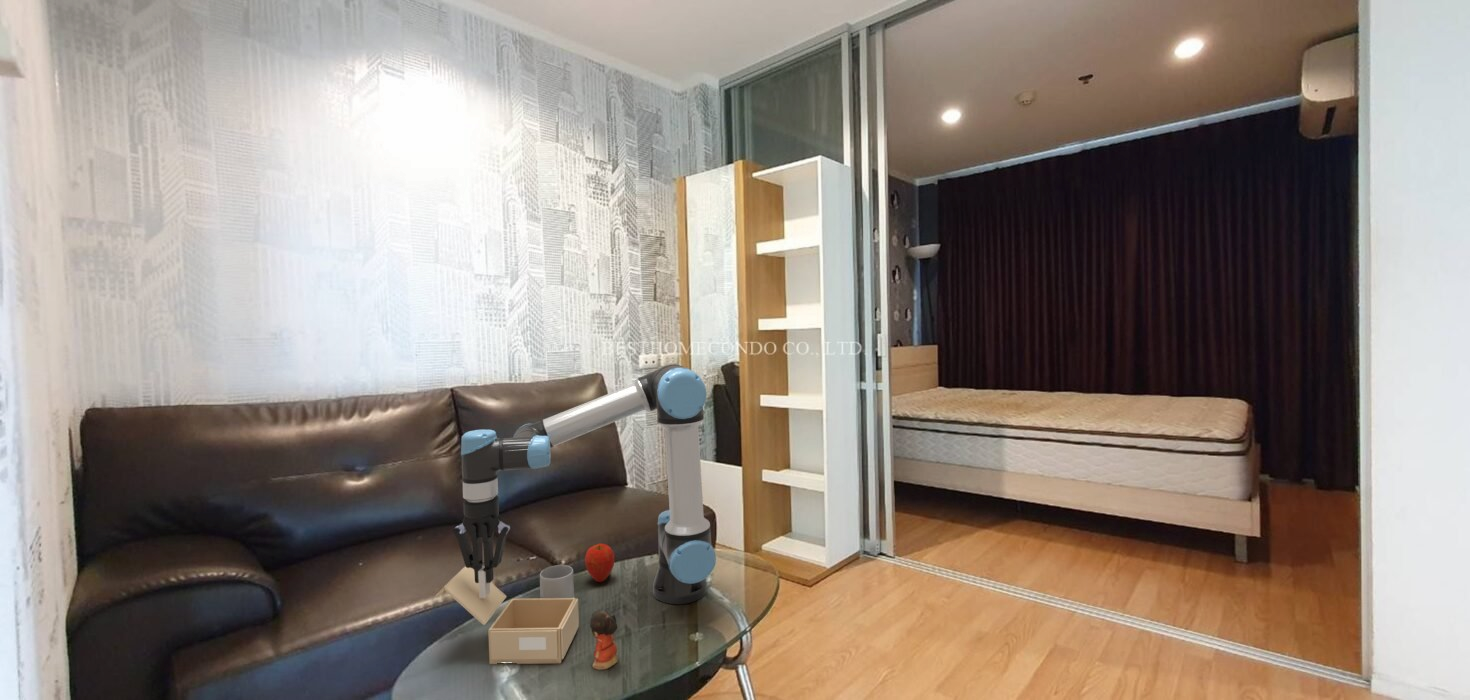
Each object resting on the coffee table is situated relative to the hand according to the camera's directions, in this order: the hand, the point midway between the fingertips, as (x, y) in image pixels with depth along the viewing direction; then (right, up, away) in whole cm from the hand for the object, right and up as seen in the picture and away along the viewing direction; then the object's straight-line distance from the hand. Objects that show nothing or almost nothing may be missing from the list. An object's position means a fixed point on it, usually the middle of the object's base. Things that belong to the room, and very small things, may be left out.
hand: (484, 595), depth 137 cm
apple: (+19, -10, +34) cm, 40 cm away
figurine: (+30, -13, -6) cm, 33 cm away
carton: (+12, -12, +1) cm, 17 cm away
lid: (-2, +1, 0) cm, 2 cm away
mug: (+11, -11, +18) cm, 24 cm away
